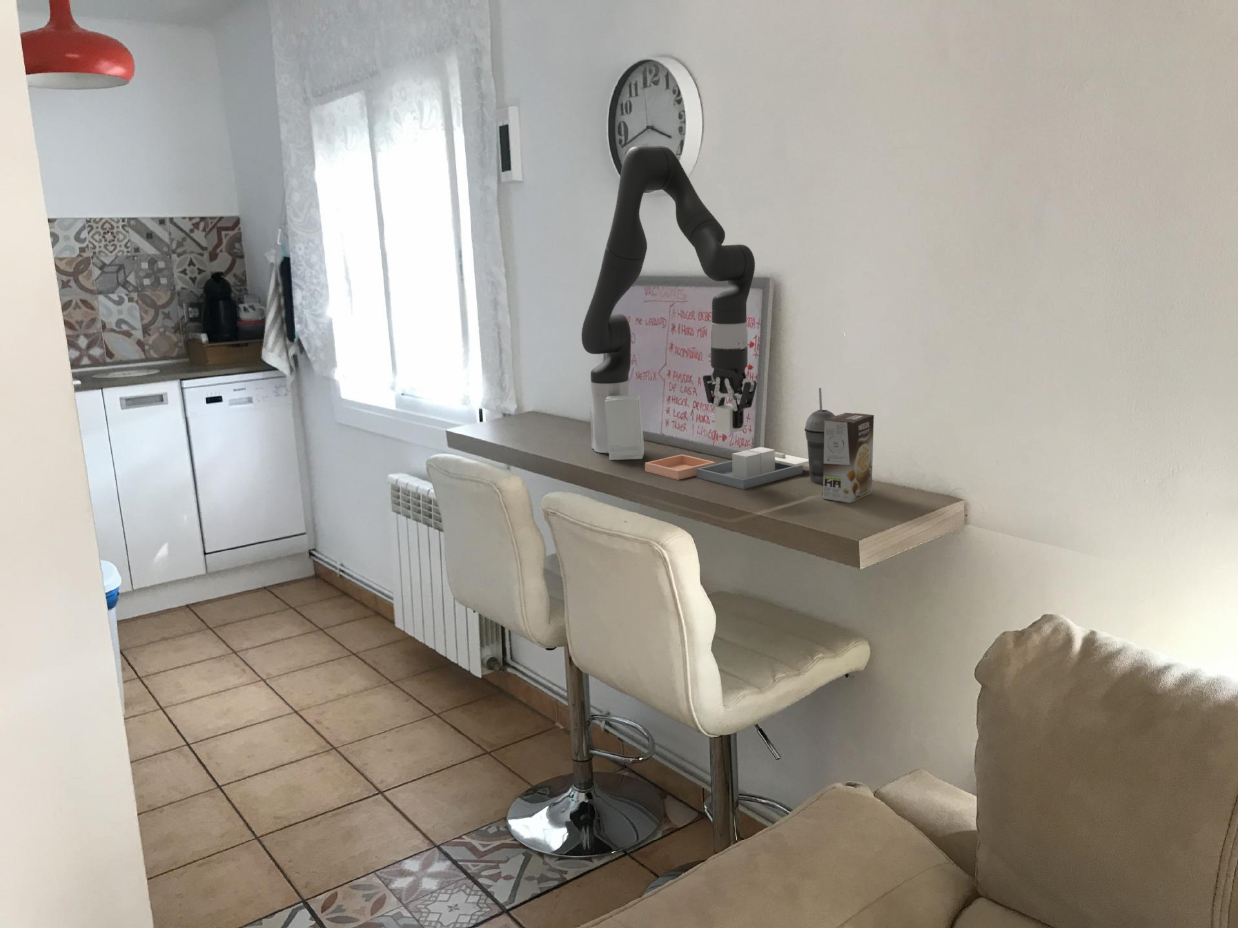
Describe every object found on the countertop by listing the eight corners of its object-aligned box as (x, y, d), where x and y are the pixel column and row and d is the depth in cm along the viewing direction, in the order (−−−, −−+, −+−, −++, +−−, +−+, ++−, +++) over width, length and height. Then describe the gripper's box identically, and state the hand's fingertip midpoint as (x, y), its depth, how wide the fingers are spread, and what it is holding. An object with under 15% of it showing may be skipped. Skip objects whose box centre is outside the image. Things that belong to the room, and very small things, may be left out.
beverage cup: (813, 489, 202) (814, 392, 197) (798, 481, 209) (798, 387, 204) (845, 485, 204) (847, 390, 199) (829, 477, 211) (830, 384, 206)
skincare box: (644, 454, 239) (642, 393, 235) (642, 460, 233) (640, 398, 229) (609, 454, 239) (607, 394, 236) (607, 460, 234) (604, 398, 230)
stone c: (747, 472, 215) (747, 450, 214) (760, 469, 218) (760, 446, 217) (761, 475, 212) (761, 453, 211) (774, 472, 215) (775, 449, 213)
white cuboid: (732, 476, 212) (732, 453, 211) (746, 472, 215) (746, 450, 214) (746, 479, 209) (746, 456, 208) (760, 476, 212) (760, 453, 211)
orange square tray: (645, 473, 220) (644, 462, 219) (681, 465, 227) (681, 454, 226) (678, 482, 212) (678, 471, 211) (715, 473, 218) (715, 462, 218)
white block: (715, 430, 207) (715, 406, 206) (729, 427, 210) (729, 404, 209) (729, 433, 204) (729, 409, 203) (743, 430, 207) (743, 406, 205)
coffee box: (851, 504, 191) (853, 422, 187) (822, 499, 195) (822, 419, 191) (872, 493, 198) (874, 414, 194) (843, 488, 202) (844, 411, 198)
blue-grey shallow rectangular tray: (695, 479, 213) (695, 462, 212) (762, 463, 225) (762, 446, 225) (744, 492, 202) (744, 473, 201) (811, 473, 214) (811, 456, 213)
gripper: (692, 343, 206) (692, 424, 210) (741, 349, 195) (741, 434, 199) (717, 340, 210) (718, 418, 214) (767, 345, 199) (766, 428, 204)
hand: (729, 425), depth 207 cm, fingers closed on white block, 4 cm apart
